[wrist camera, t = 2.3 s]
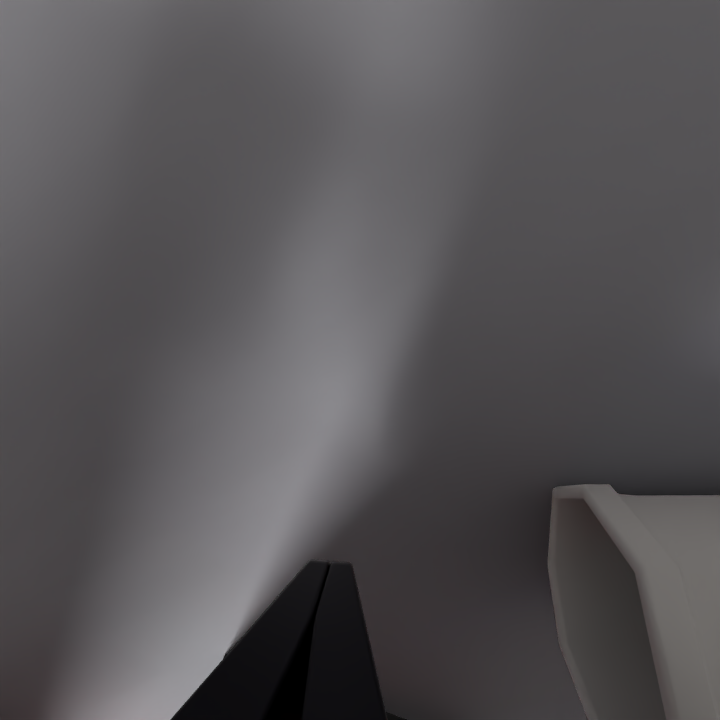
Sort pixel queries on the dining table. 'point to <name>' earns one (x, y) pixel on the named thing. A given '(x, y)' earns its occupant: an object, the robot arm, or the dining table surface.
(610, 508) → the tube
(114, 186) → the dining table surface
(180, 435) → the dining table surface
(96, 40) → the dining table surface
